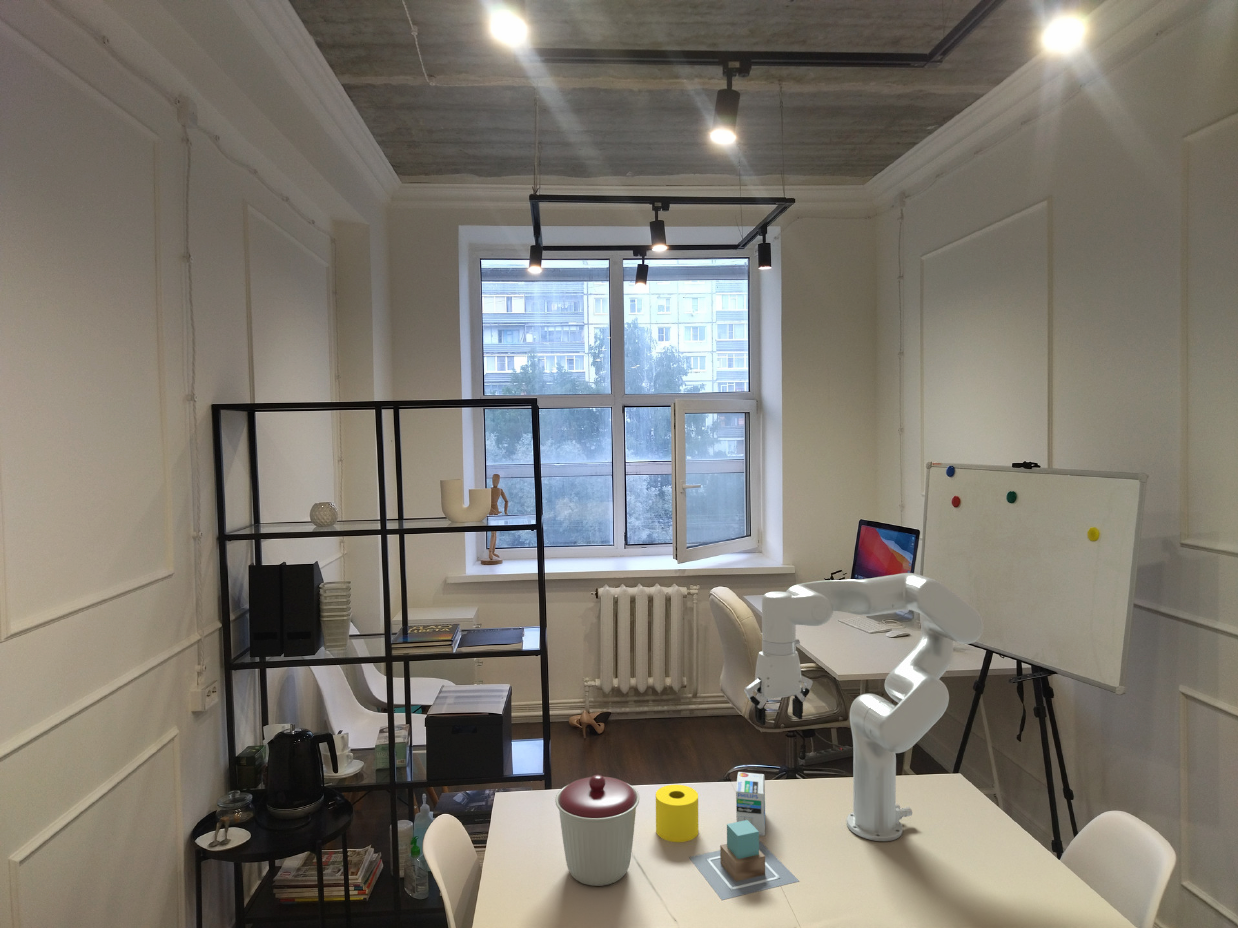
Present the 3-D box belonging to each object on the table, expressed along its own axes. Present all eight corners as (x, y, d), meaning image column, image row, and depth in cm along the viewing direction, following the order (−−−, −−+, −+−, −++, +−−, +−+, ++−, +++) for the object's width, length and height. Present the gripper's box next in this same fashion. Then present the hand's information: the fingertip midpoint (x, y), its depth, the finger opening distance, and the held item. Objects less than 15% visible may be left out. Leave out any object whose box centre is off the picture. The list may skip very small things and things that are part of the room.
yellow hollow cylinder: (698, 823, 179) (698, 785, 178) (698, 846, 169) (698, 806, 168) (657, 821, 180) (656, 783, 179) (654, 844, 170) (654, 804, 169)
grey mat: (760, 844, 169) (760, 840, 169) (799, 884, 154) (799, 880, 154) (688, 860, 163) (688, 856, 163) (721, 903, 148) (721, 899, 148)
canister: (565, 904, 149) (564, 802, 148) (549, 855, 166) (548, 763, 165) (651, 888, 153) (650, 789, 152) (627, 842, 171) (625, 753, 170)
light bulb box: (765, 839, 171) (764, 793, 171) (735, 836, 173) (735, 791, 172) (765, 815, 182) (765, 772, 181) (737, 813, 183) (737, 770, 183)
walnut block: (748, 856, 163) (748, 838, 163) (765, 874, 156) (765, 855, 156) (720, 862, 161) (720, 844, 161) (735, 881, 154) (735, 862, 154)
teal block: (747, 842, 162) (747, 819, 161) (758, 854, 157) (758, 831, 157) (727, 846, 160) (726, 823, 160) (737, 858, 155) (737, 835, 155)
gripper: (802, 638, 175) (802, 709, 176) (737, 646, 170) (737, 719, 170) (820, 647, 168) (820, 720, 169) (753, 655, 163) (753, 731, 163)
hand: (779, 720), depth 170 cm, fingers open, 9 cm apart
